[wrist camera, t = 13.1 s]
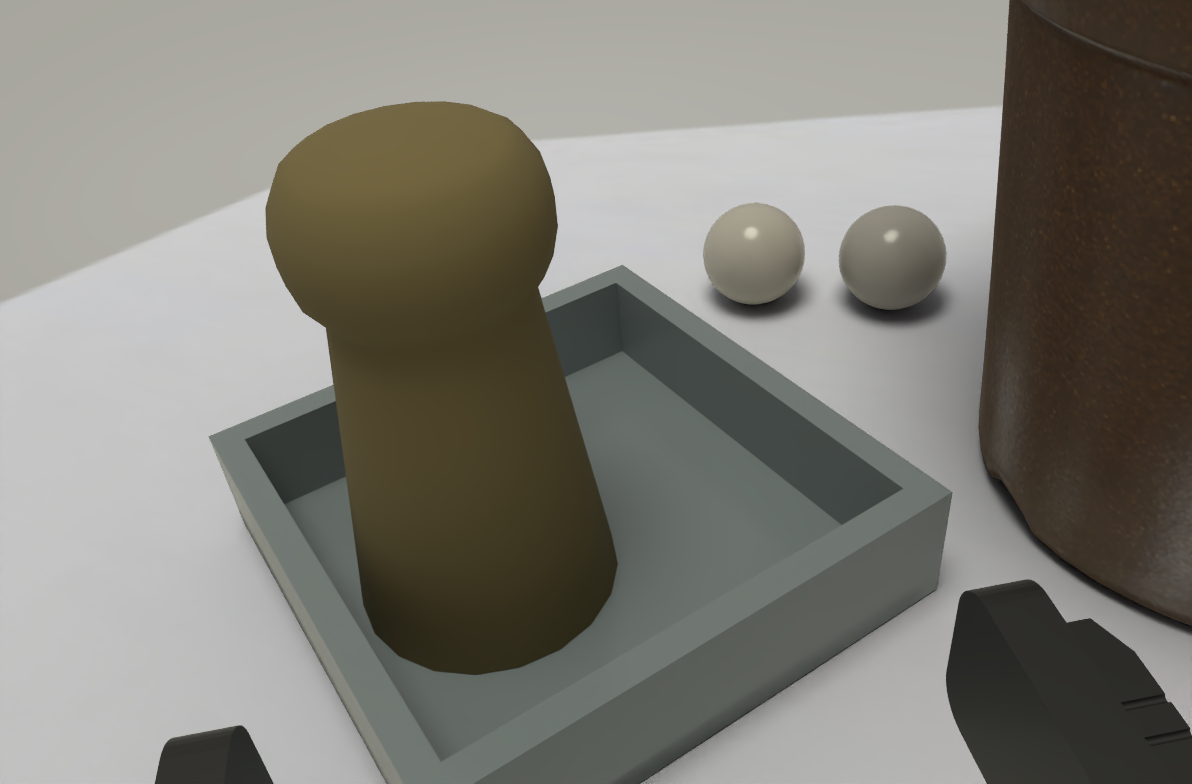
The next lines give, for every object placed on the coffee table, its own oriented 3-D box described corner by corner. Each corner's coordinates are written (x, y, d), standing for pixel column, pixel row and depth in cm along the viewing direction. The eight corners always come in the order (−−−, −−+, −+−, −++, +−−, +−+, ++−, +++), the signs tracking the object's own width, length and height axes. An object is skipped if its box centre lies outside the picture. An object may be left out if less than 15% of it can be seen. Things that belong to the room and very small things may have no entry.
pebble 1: (684, 293, 34) (681, 207, 33) (759, 261, 36) (760, 176, 34) (747, 335, 32) (746, 245, 30) (824, 299, 33) (828, 210, 32)
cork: (577, 459, 27) (523, 45, 21) (653, 627, 23) (614, 161, 16) (349, 519, 26) (215, 103, 20) (380, 709, 22) (217, 245, 15)
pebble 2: (815, 298, 34) (819, 210, 32) (887, 265, 35) (895, 177, 33) (888, 342, 31) (897, 249, 29) (962, 304, 33) (975, 212, 31)
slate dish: (244, 523, 27) (208, 436, 26) (629, 348, 32) (622, 265, 30) (453, 905, 19) (421, 814, 17) (936, 588, 24) (952, 492, 22)
